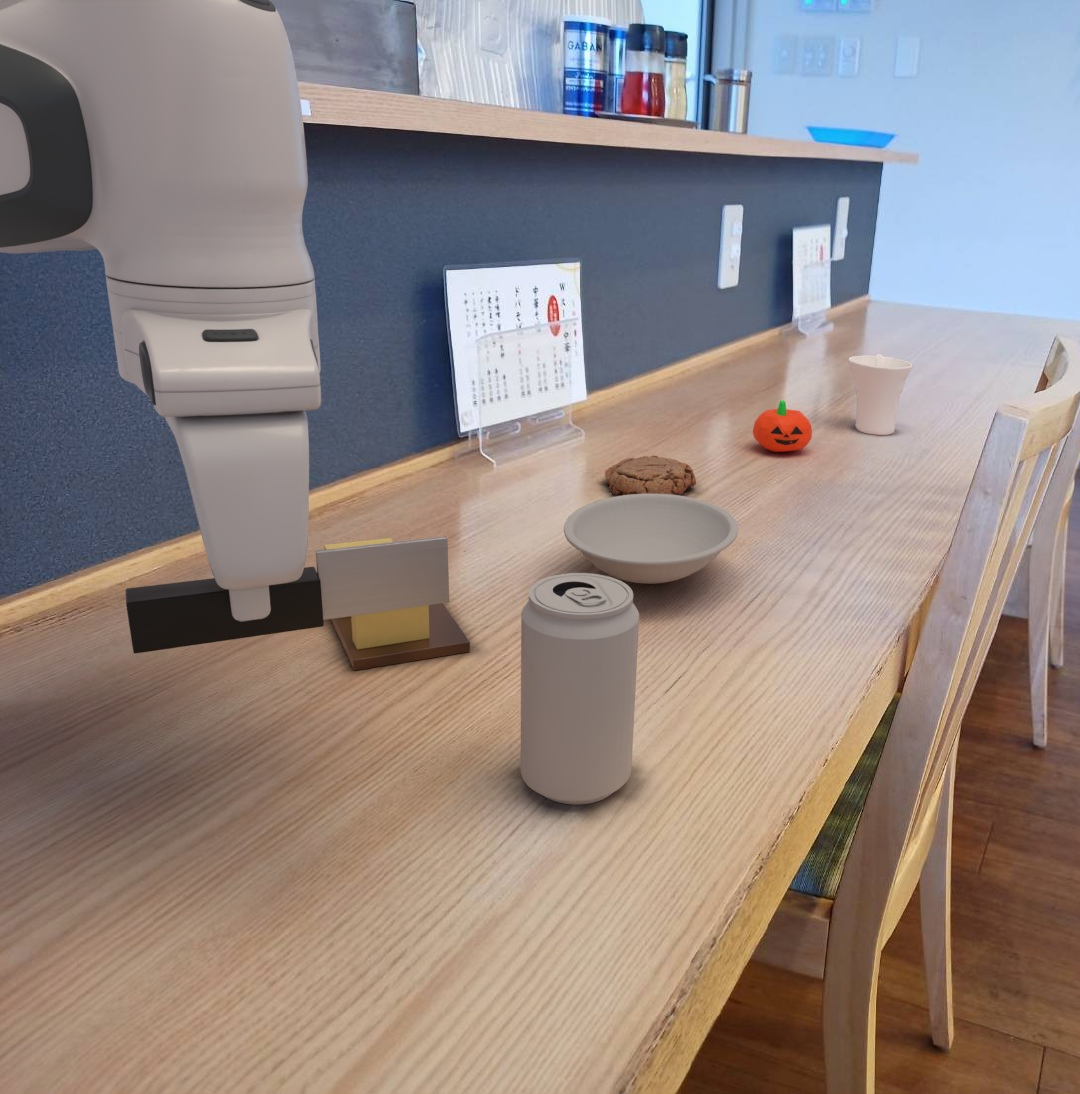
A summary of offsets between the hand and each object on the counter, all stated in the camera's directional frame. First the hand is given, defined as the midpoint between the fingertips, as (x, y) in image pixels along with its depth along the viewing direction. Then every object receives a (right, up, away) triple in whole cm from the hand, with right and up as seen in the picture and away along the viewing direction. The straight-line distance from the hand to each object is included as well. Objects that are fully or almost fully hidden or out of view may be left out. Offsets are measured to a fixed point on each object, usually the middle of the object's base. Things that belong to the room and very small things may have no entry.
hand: (247, 602), depth 55 cm
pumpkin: (+32, +15, +78) cm, 85 cm away
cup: (+46, +19, +92) cm, 104 cm away
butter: (-2, -1, +25) cm, 25 cm away
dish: (+19, 0, +35) cm, 40 cm away
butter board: (-1, -2, +24) cm, 24 cm away
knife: (+2, -1, +2) cm, 3 cm away
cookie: (+17, +9, +59) cm, 62 cm away
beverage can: (+16, -11, +6) cm, 21 cm away
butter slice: (+1, -4, +19) cm, 19 cm away
